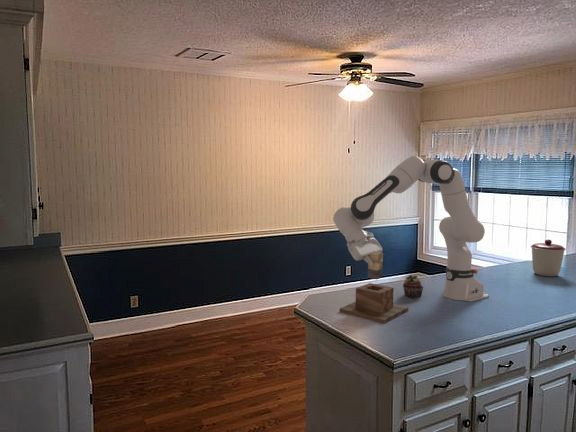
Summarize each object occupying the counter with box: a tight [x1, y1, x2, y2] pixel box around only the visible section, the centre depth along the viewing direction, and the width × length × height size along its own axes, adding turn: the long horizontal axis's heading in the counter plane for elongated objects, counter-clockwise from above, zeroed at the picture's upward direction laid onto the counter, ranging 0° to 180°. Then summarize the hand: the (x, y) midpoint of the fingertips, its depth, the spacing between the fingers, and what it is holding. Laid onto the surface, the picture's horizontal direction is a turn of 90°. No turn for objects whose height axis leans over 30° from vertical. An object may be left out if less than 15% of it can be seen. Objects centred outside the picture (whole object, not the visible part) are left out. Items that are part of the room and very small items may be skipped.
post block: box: [339, 282, 409, 324], centre depth 204 cm, size 22×22×10 cm
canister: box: [530, 239, 566, 277], centre depth 273 cm, size 18×18×21 cm
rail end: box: [367, 252, 384, 280], centre depth 202 cm, size 4×4×11 cm
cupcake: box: [402, 274, 424, 299], centre depth 228 cm, size 10×10×10 cm
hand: (376, 264), depth 202 cm, fingers closed on rail end, 4 cm apart
